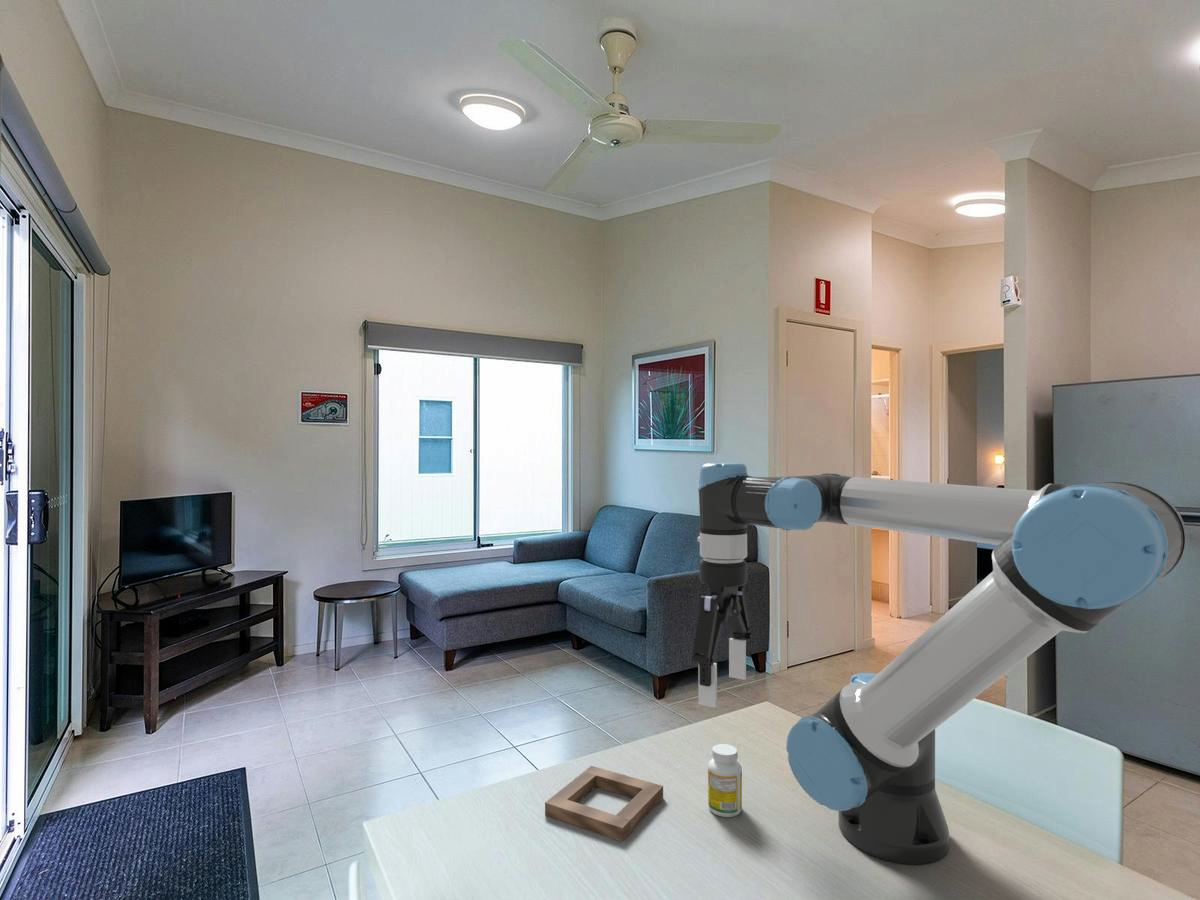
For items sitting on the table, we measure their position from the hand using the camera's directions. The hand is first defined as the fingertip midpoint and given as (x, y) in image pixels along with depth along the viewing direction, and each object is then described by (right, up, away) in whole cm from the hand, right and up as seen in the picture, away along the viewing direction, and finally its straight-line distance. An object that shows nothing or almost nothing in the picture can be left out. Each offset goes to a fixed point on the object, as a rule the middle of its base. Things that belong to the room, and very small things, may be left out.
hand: (723, 691), depth 106 cm
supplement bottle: (0, -19, 0) cm, 19 cm away
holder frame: (-19, -19, +1) cm, 27 cm away
